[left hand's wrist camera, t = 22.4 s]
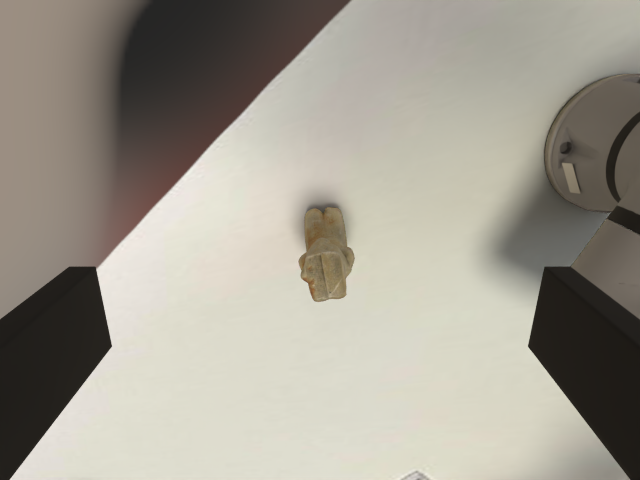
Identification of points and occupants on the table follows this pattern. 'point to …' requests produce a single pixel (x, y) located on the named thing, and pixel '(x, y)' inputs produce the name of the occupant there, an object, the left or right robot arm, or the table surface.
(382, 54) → the table surface
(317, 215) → the sculpture
